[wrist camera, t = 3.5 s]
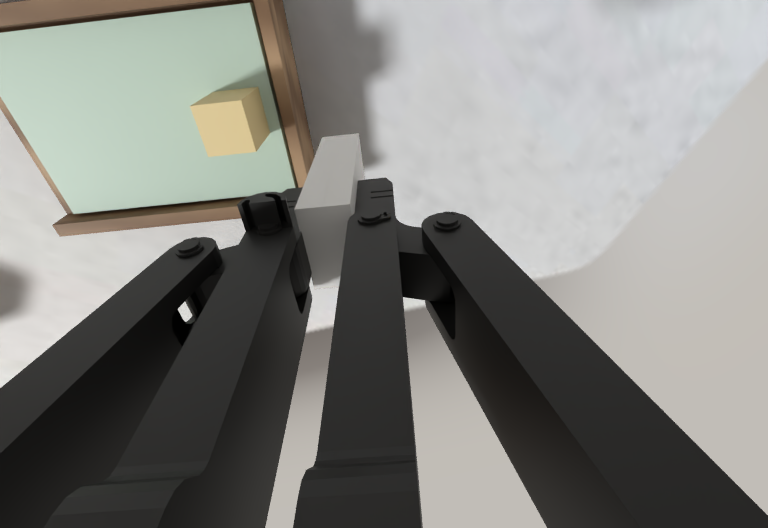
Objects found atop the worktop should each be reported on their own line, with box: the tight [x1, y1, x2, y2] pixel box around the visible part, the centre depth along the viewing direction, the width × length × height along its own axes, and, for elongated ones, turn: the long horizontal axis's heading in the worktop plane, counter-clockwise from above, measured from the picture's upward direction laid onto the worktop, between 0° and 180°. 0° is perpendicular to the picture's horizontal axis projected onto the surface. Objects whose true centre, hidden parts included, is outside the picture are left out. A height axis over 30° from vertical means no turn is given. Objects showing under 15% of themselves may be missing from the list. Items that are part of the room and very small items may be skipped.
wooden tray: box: [0, 0, 315, 236], centre depth 28 cm, size 15×20×5 cm
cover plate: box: [0, 3, 298, 214], centre depth 25 cm, size 12×18×5 cm
